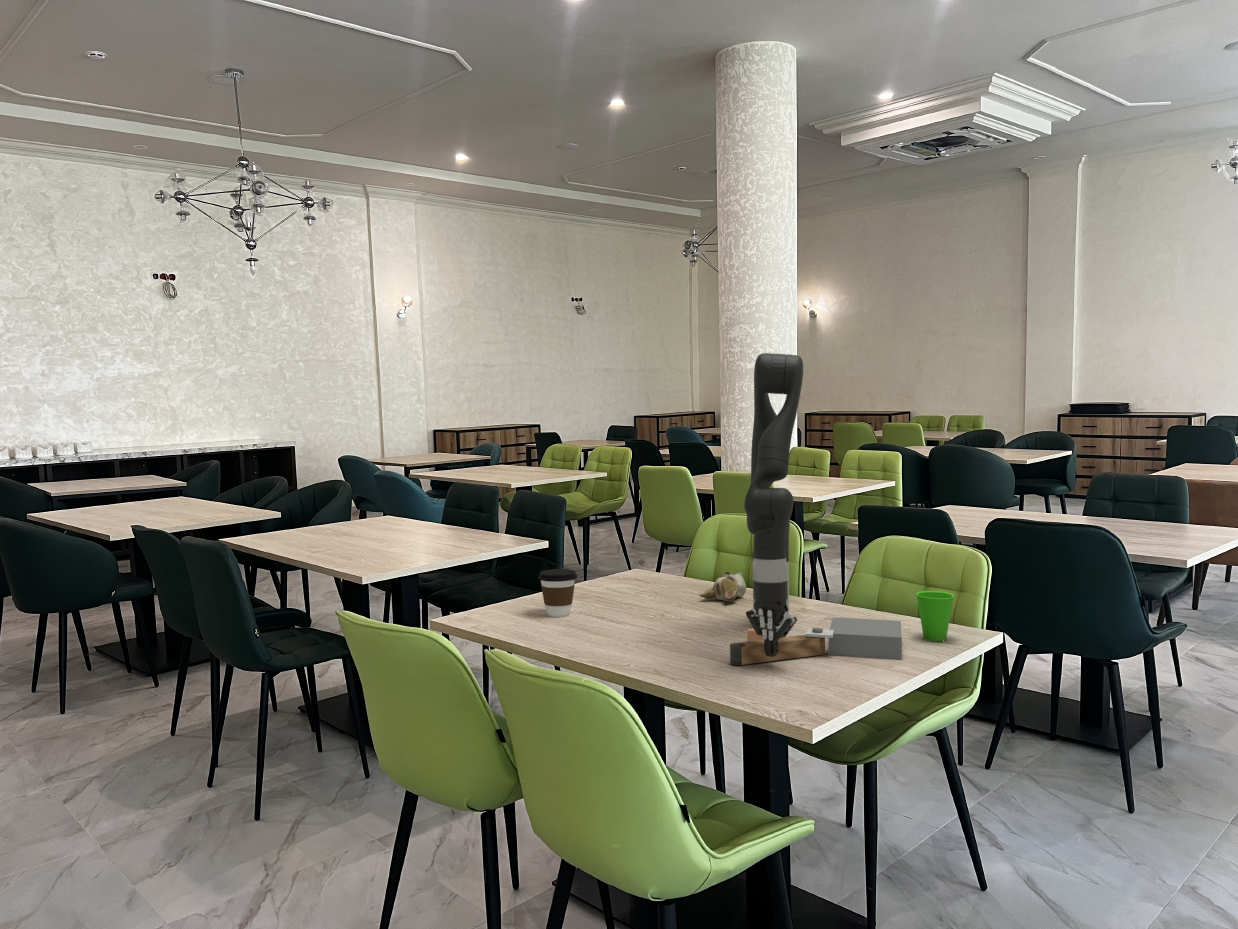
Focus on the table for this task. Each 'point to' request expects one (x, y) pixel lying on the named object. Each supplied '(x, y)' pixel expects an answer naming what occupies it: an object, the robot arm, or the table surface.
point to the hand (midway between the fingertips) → (771, 655)
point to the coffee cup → (558, 591)
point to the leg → (787, 649)
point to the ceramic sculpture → (726, 588)
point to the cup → (935, 613)
